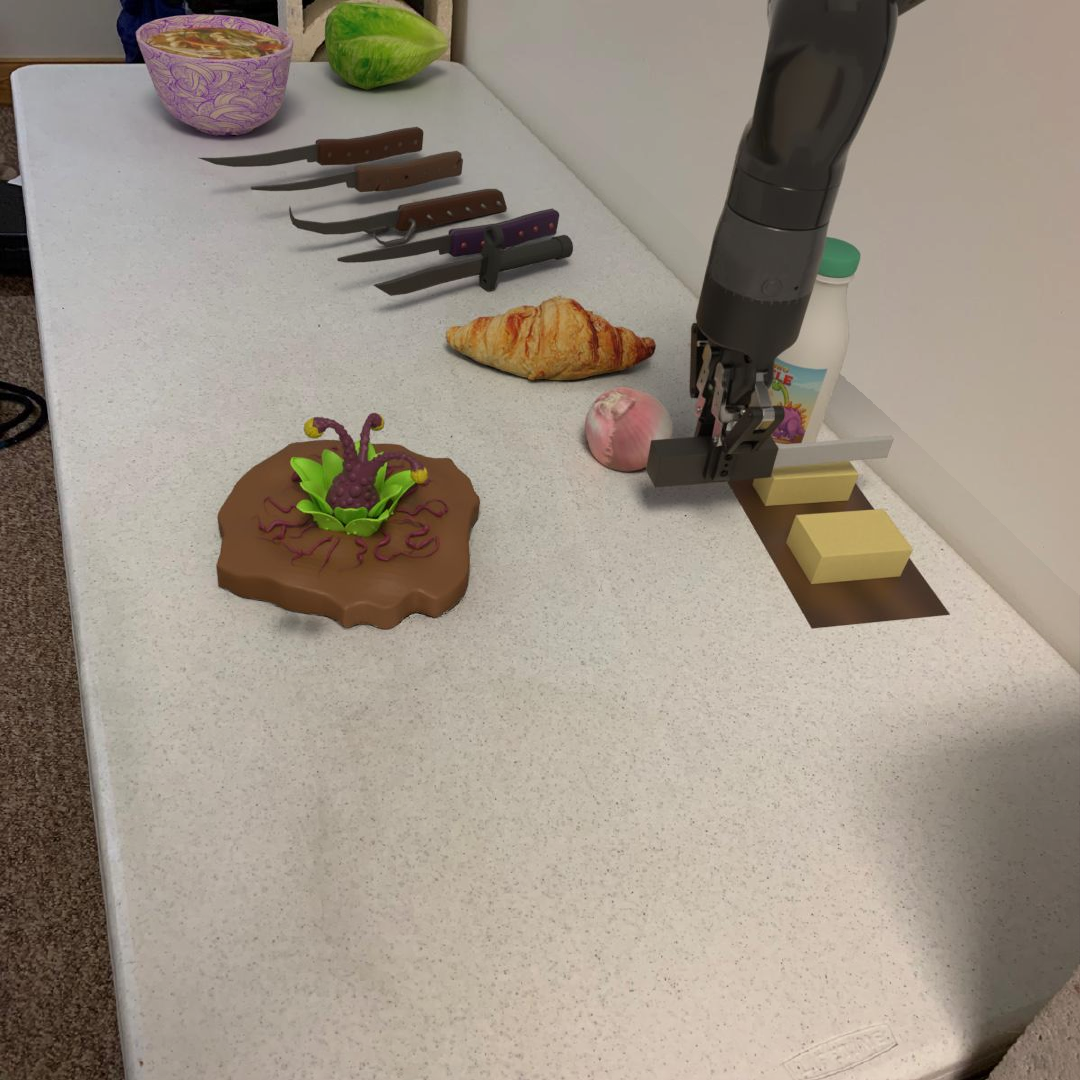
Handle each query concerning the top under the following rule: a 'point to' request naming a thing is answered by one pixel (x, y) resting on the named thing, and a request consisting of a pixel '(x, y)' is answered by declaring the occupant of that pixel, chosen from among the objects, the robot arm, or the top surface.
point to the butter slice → (807, 484)
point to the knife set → (419, 210)
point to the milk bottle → (815, 349)
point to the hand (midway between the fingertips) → (709, 467)
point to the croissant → (550, 342)
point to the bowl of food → (217, 70)
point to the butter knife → (752, 457)
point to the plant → (349, 529)
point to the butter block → (848, 546)
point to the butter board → (836, 598)
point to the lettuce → (380, 43)
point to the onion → (625, 427)
